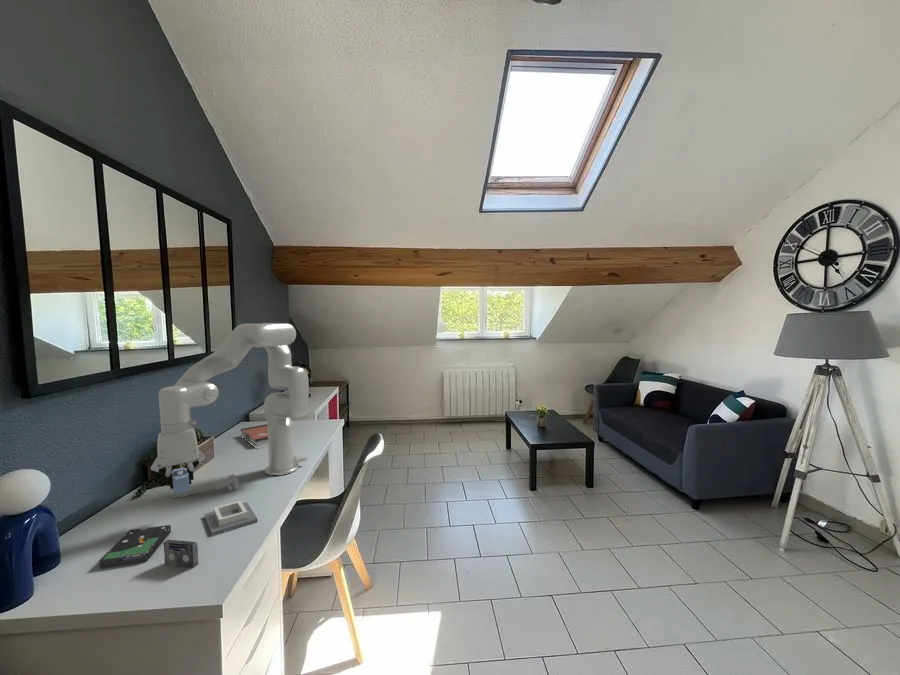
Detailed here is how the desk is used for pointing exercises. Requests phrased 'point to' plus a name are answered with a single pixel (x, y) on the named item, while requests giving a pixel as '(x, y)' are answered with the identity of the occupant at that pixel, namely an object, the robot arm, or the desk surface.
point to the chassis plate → (230, 517)
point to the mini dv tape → (181, 553)
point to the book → (256, 435)
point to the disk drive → (135, 546)
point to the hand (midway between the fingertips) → (180, 484)
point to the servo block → (180, 480)
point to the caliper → (212, 486)
